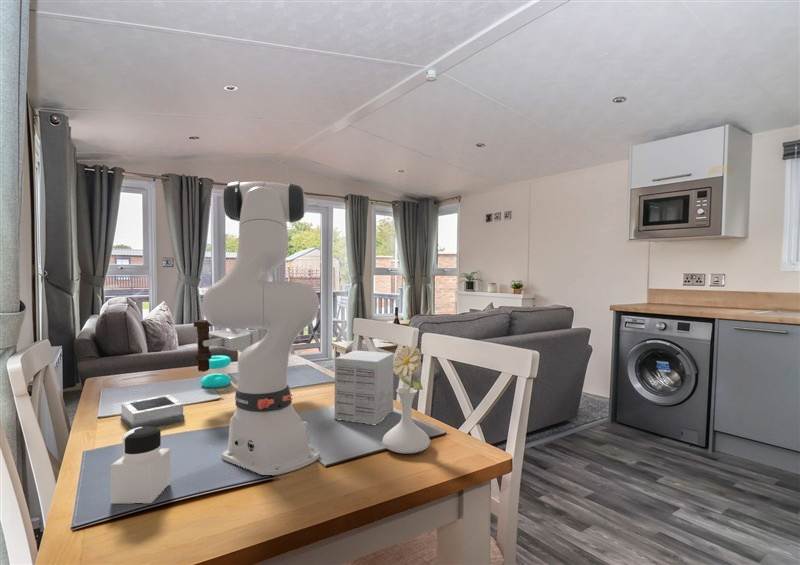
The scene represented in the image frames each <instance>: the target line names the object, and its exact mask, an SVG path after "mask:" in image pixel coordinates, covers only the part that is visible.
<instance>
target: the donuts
mask: <svg viewBox="0 0 800 565" xmlns="http://www.w3.org/2000/svg"><path fill="white" fill-rule="evenodd" d="M231 362H232V359H231V357H230V356H228V355H218V354H217V355H211V359H209V370H218V369H224V368H227V367H228V366H229V365H230V364H231ZM231 382H232V378H231V376H230V375H229V374H226V373H211V374H207V375H205V376H203V378H202V379H201V380H200V385H201V386H202V387H203V386H204V387H203V388H206V387H211V388H210V389H216V388H217V389H218V388H223V387H226V386H228V385H230V383H231Z"/></svg>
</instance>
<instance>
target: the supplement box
mask: <svg viewBox="0 0 800 565" xmlns="http://www.w3.org/2000/svg"><path fill="white" fill-rule="evenodd" d="M394 358H395V354H394V353H393V352H385V351H384V352H380V351H370V350H356V349H355V350H352V351H350V352H347V353H344V354H342V355H340V356H337V357H335V358H334V420H335V419H341V420H347V421H346V422H348V421H353V422H352V423H355V422H360V423H359V424H362V423H367V424H366V425H369V424H378V423H379V422H380V421H381V420H382V419H383V418H384V419H386V418H387V417H388V416H389V415H390V414H392V413H393V411H394V374H395V373H394V372H393V369H394V368H395V367H394V366H393V363H394V360H395V359H394ZM389 413H390V414H389ZM388 414H389V415H388ZM387 415H388V416H387ZM386 416H387V417H386ZM385 417H386V418H385ZM384 419H383V420H384ZM341 420H340V421H341ZM383 420H382V421H383ZM382 421H381V422H382ZM381 422H380V423H381ZM380 423H379V424H380ZM379 424H378V425H379Z"/></svg>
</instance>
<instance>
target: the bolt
mask: <svg viewBox="0 0 800 565" xmlns="http://www.w3.org/2000/svg"><path fill="white" fill-rule="evenodd" d="M193 327H194V328H196V333H197V338H198V342H197V343H196V344H197V352H195V356H194V357H195V361H197V370H198V372H202V373H203V372H208V371H209V370H210V369H209V359H211V356H212V352H211V351H210V346H206V347H205V346H203V345H202V341H203V340H209V331H210V327H213V326H212V325H211V324H210V323H209V322H208V321H207V320H206V319H200V320H199V319H198V320H193Z"/></svg>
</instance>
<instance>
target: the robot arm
mask: <svg viewBox="0 0 800 565" xmlns="http://www.w3.org/2000/svg"><path fill="white" fill-rule="evenodd" d="M221 206H222V209H223V211H224V213H225V215H226V217H228V218H229V219H230V220H232V221H236V222H239V226H238V227H239V228H238V246H237V254H236V258H235V259H234V260H235V261H234V263H233V265H232V266H231V268H230V269H229V271H227V273H226V275H224V276H223V277H222V278H221V279H219V280H218V281H217V282H215V283H213V284H212V285H210V287H209V288H208V289H207V290H206V291H205V293H204V295H203V298H202V302H201V309H202V310H201V311H202V314H203V317H204V318H205V320H207V321H208V322H209V323H210V324H211V325H212V326H211V327H216V328H221V329H228V330H211V331H210V330H209V340H203V341H202V345H203V346H205V347H206V346H209V347H217V348H222V349H225V350H228V351H238V352H240V354H239V356H238V358H237V388H236V390H235V394H234V395H235V396H234V399H235V400H234V401H235V406H236V409H235V412H234V414H233V415H232V416H231V418H230V419H229V425H228V426H229V429H228V443H227V449H226V450H224V451H223V452H222V454H221V456H222V457H221V459H222V460H223V461H225V462H228V463H231V464H233V465H235V464H236V465H235V466H237V465H238V466H237V467H240V466H241V467H240V468H242V467H243V469H245V468H246V469H245V470H247V469H249V470H252V471H255V472H257V473H259V474H261V475H272V476H277V475H281V474H282V475H283V474H286V473H289V472H293V471H296V470H298V469H301V468H304V467H306V466H308V465H310V464H313V463H314V462H316V461H317V460H318V459H319V458H320V457H319V456H321V454H320V452H319V451H318V449H316V448H315V447H314V446H313V445H312V444H311V443H309V432H308V431H309V430H308V429H309V425H308V421H306V420H305V421H302V419H301V417H300V416H299V414H298V412H297V411H296V410H295V409H294V408H295V407H293V404H292V402H293V401H292V400H293V394H292V393H291V390H290V387H289V385H288V370H289V367H288V366H289V359H290V358H289V356H290V352H291V350H292V346H293V345H294V342H295V340H296V339H297V338H298V336H299V335H300V333H302V332H303V330H305V328H307V327H308V326H309V325H311V324H312V323H313V322H314V321H315V319H316V318H317V317H318V314H319V311H320V299H319V295H318V293H317V291H316V290H315V289H314V287H313V286H312V285H310V284H306V283H301V282H296V281H290V280H289V281H288V280H285V281H275V280H274V281H269V279H270V276H269V274H270V272H271V271H273V270H276V269H277V268H279V267H280V266H281V265H282V264H283V263H284V262H285V261H286V258H287V253H288V250H289V249H288V246H289V239H288V238H289V234H288V223H287V222H289V223H290V224H292V223H295V222H299V221H301V220H302V219H303V218H304V217H305V216H304V215H305V214H306V212H307V207H308V201H307V197H306V194H305V193H304V189H303V188H302V187H301V186H300V185H297V184H293V183H288V184H287V183H281V182H273V181H272V182H271V181H269V182H268V181H259V180H258V181H243V182H240V181H232V182H230V183H227V185H225V186H224V188H223V192H222V195H221ZM197 342H198V337H197V338H196V342H195V343H196V344H197ZM318 457H319V458H318ZM249 470H248V471H249ZM252 471H251V472H252ZM259 474H258V475H259ZM261 475H260V476H261Z"/></svg>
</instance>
